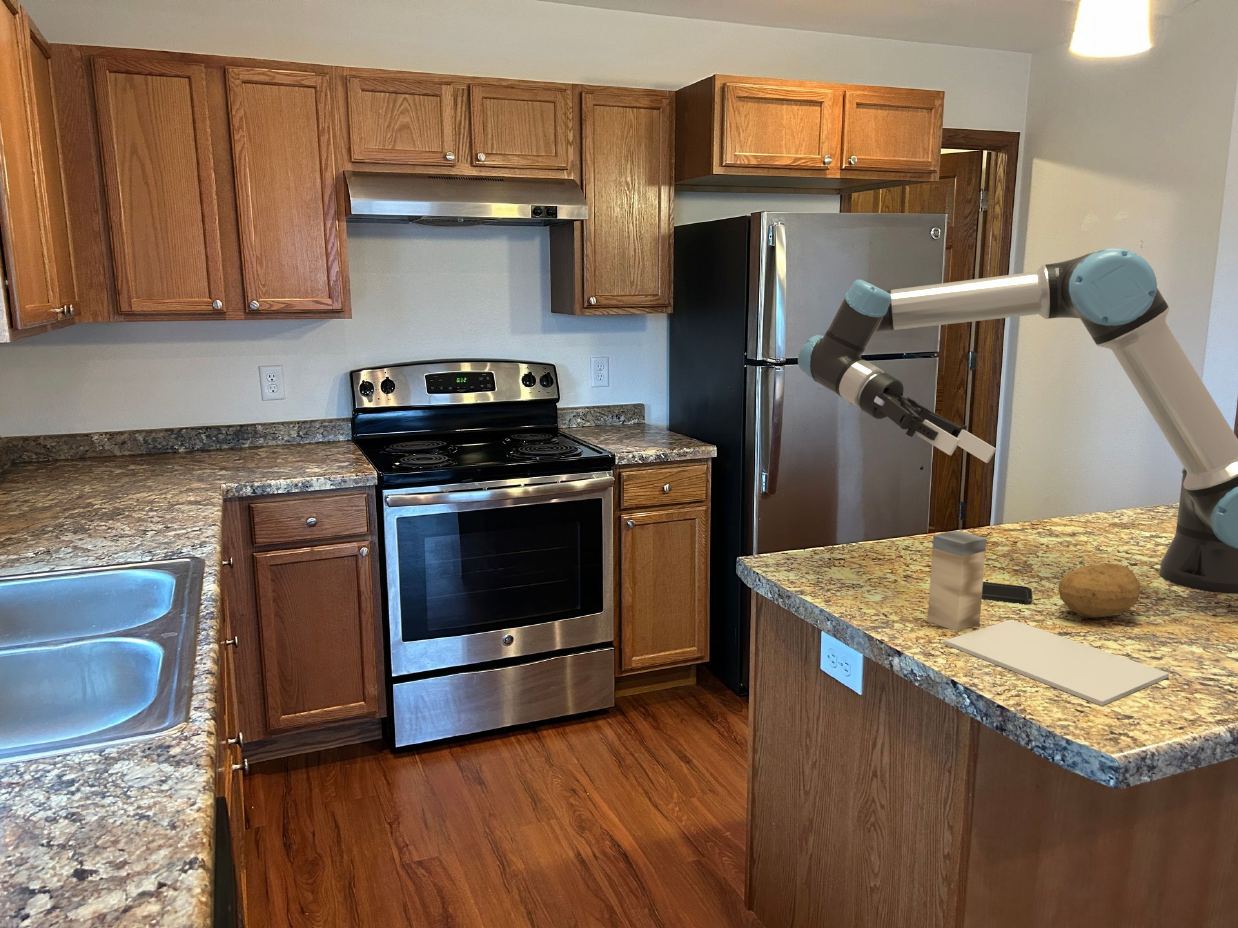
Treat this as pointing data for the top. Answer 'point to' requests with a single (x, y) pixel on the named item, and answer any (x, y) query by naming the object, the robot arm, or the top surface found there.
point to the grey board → (1058, 661)
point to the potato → (1099, 590)
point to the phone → (1007, 593)
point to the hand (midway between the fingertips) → (973, 452)
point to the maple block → (956, 580)
